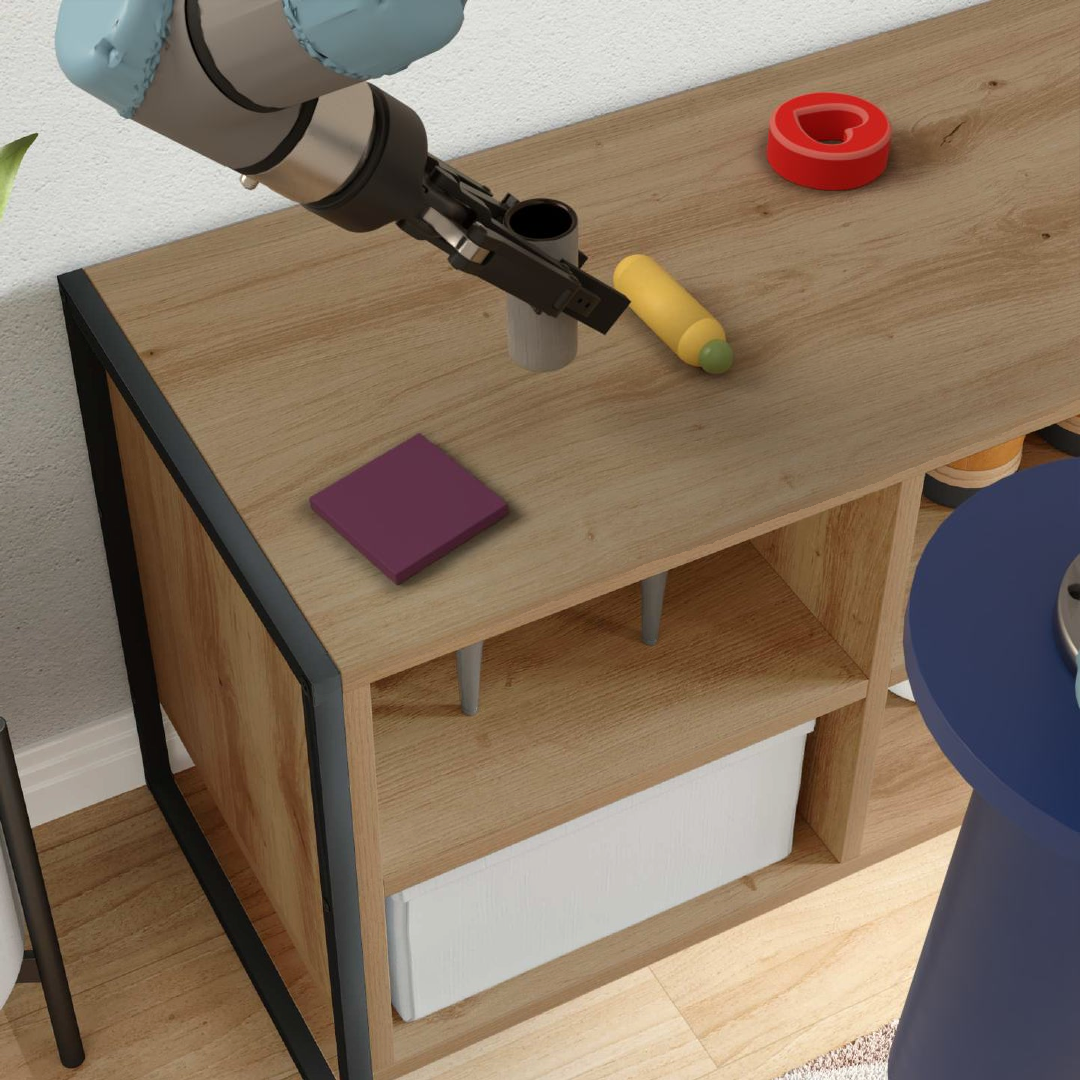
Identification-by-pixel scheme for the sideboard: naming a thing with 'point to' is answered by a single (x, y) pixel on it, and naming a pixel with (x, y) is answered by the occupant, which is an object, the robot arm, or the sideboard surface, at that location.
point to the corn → (673, 314)
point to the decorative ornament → (829, 120)
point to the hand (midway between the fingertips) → (593, 292)
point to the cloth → (408, 507)
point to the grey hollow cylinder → (529, 335)
